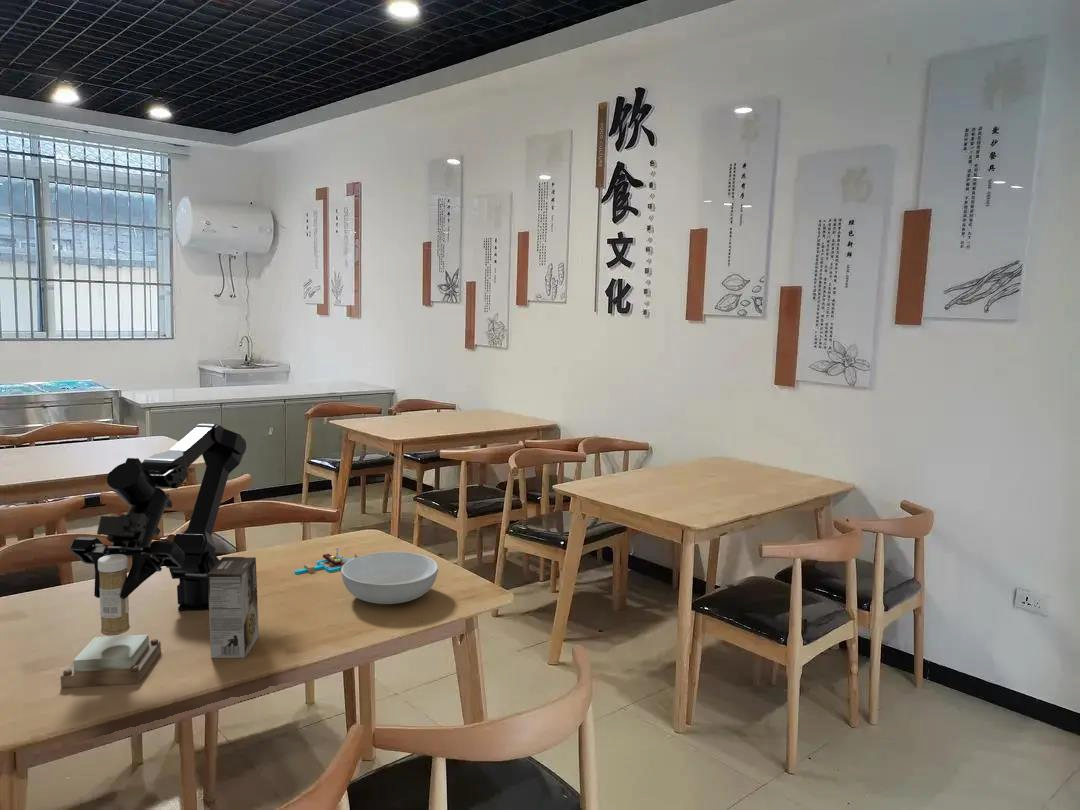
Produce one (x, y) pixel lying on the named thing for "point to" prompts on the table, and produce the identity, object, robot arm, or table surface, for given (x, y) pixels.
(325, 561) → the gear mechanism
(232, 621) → the coffee box
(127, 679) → the brick tower base
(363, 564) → the serving bowl
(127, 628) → the sprinkles bottle
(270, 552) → the table surface
